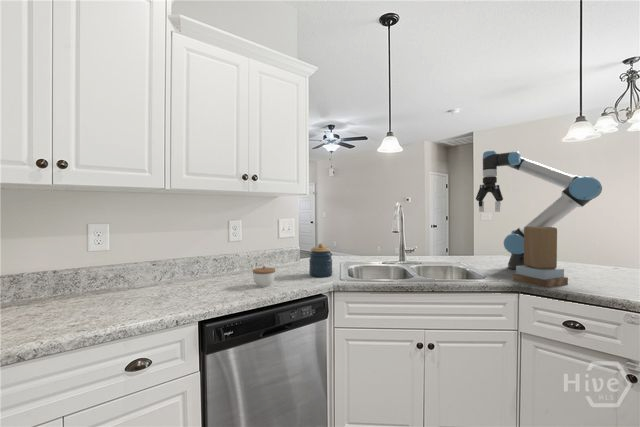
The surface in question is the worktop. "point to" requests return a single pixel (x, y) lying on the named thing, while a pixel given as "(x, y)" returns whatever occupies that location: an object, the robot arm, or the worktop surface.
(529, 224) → the robot arm
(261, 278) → the lidded jar
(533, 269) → the tower top
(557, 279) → the tower base
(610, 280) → the worktop surface
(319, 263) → the canister
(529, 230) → the block
